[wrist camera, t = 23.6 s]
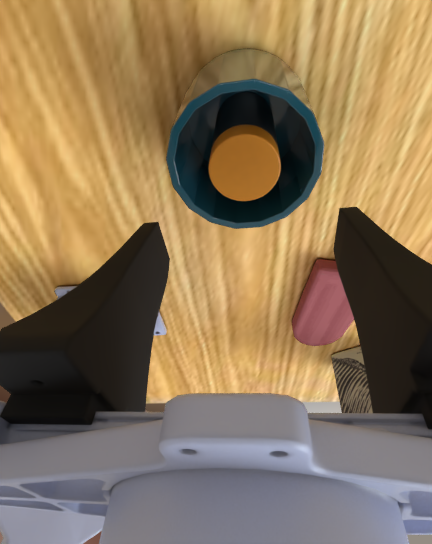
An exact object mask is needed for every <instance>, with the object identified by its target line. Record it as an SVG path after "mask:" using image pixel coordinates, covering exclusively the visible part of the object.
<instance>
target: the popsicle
mask: <svg viewBox="0 0 432 544" xmlns="http://www.w3.org/2000/svg"><path fill="white" fill-rule="evenodd" d="M353 320H354V317H353V314H352V311H351V308H350V305H349V302H348V299H347V296H346V294H345V291H344V288H343V285H342V282H341V279H340V276H339V273H338V270H337V265H336V261H331V260H322V259H318V260H316V262H315V264H314V267H313V269H312V272H311V274H310V277H309V279H308V281H307V284H306V286H305V289H304V291H303V294H302V296H301V299H300V301H299V304H298V307H297V309H296V312H295V315H294V317H293V320H292V326H293V332H294V337H295V338H296V339H297V340H298V341H300V342H301V343H303V344H306V345H311V346H320V345H326V344H329V343H333V342H335V341H336V340H337V339H339V338H340V337H342V336H343V334H344V333H345V331H346V330H347V329H348V327H349V326H350V324H351V323H352V321H353Z"/></svg>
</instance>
